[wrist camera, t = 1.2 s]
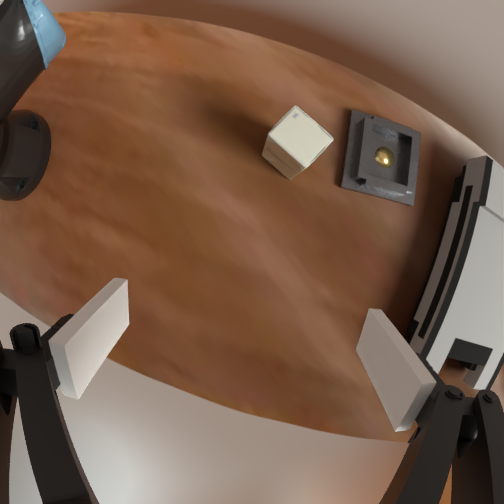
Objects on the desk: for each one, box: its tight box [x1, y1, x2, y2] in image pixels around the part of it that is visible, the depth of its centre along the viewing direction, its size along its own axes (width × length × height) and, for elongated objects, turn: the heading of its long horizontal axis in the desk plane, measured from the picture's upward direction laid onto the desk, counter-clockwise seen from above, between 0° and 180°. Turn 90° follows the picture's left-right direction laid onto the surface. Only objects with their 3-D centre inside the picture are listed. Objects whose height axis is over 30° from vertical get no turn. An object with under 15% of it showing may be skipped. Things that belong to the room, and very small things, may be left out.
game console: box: [407, 156, 504, 390], centre depth 36 cm, size 21×32×8 cm, turn 161°
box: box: [262, 106, 333, 180], centre depth 32 cm, size 5×4×11 cm
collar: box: [340, 110, 421, 206], centre depth 36 cm, size 11×11×3 cm
